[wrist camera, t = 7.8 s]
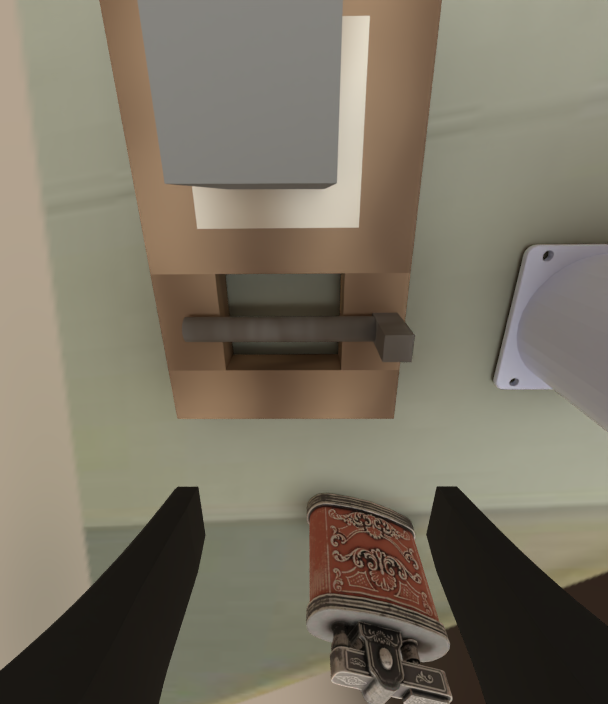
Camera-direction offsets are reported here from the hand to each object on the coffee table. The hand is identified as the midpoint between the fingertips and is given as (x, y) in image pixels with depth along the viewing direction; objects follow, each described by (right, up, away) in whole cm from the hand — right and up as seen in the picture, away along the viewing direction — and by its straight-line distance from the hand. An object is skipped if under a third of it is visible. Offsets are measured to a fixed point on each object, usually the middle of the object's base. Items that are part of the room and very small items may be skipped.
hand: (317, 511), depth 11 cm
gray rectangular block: (-2, +13, +3) cm, 14 cm away
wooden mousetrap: (-1, +10, +7) cm, 12 cm away
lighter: (+4, -7, +15) cm, 17 cm away
